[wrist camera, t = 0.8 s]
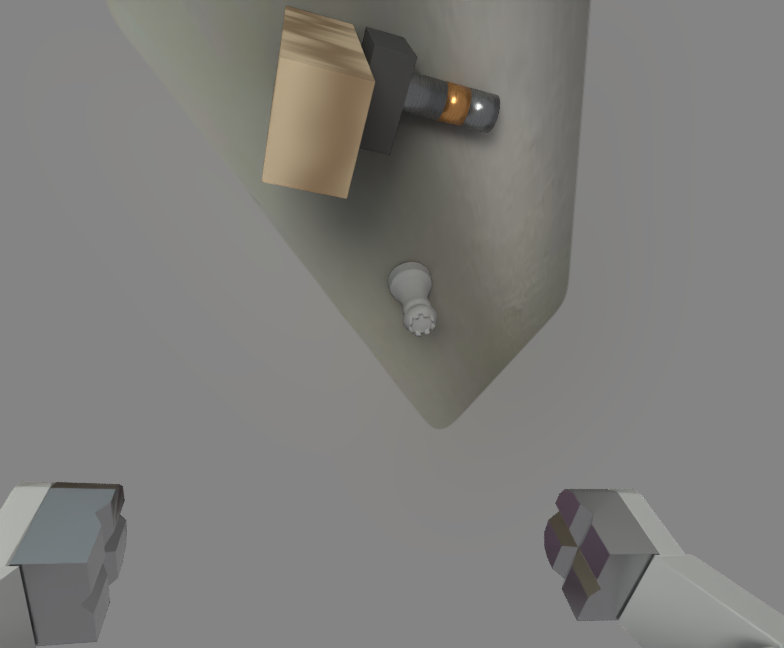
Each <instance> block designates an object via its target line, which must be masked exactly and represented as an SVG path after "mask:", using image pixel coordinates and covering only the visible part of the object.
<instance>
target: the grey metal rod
mask: <svg viewBox="0 0 784 648" xmlns="http://www.w3.org/2000/svg"><path fill="white" fill-rule="evenodd" d="M499 109H500V98H499V96H498V95H495V94H491V93H488V92H484V91H480V90H476V89H473V88H469V87H465V86H462V85H458V84H454V83H451V82H447V81H443V80H440V79H436V78H432V77H429V76H425V75H421V74H417V73H414V72H413V74H412V78H411V81H410V85H409V88H408V92H407V95H406V99H405V103H404V106H403V110H402V112H405V113H409V114H413V115H417V116H421V117H425V118H429V119H433V120H437V121H441V122H445V123H449V124H453V125H457V126H461V127H465V128H469V129H473V130H477V131H481V132H485V133H488V132H490V131H491V129H492V128H493V126H494V125H495V122H496V120H497V117H498V114H499Z"/></svg>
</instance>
